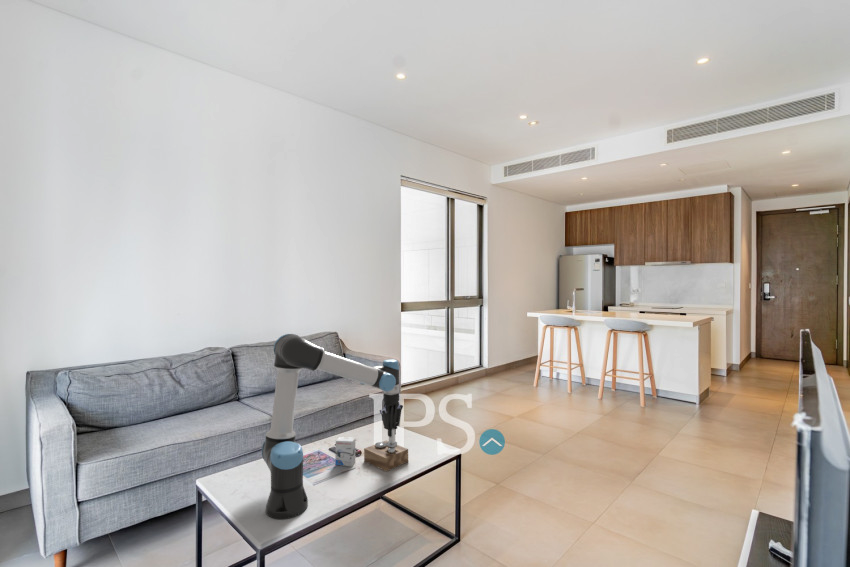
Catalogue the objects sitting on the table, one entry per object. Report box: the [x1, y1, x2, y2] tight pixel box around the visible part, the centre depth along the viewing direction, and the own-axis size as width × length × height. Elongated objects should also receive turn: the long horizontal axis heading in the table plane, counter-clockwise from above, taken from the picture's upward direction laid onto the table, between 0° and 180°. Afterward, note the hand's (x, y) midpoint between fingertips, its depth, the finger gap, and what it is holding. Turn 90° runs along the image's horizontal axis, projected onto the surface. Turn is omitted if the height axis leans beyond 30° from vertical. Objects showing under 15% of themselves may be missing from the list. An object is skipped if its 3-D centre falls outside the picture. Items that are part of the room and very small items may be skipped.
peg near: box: [386, 441, 398, 454], centre depth 197 cm, size 5×5×7 cm
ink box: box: [334, 436, 356, 467], centre depth 197 cm, size 9×5×12 cm, turn 84°
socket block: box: [363, 440, 409, 472], centre depth 200 cm, size 14×16×6 cm
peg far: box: [374, 441, 386, 449], centre depth 203 cm, size 5×5×7 cm
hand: (391, 442), depth 197 cm, fingers closed
